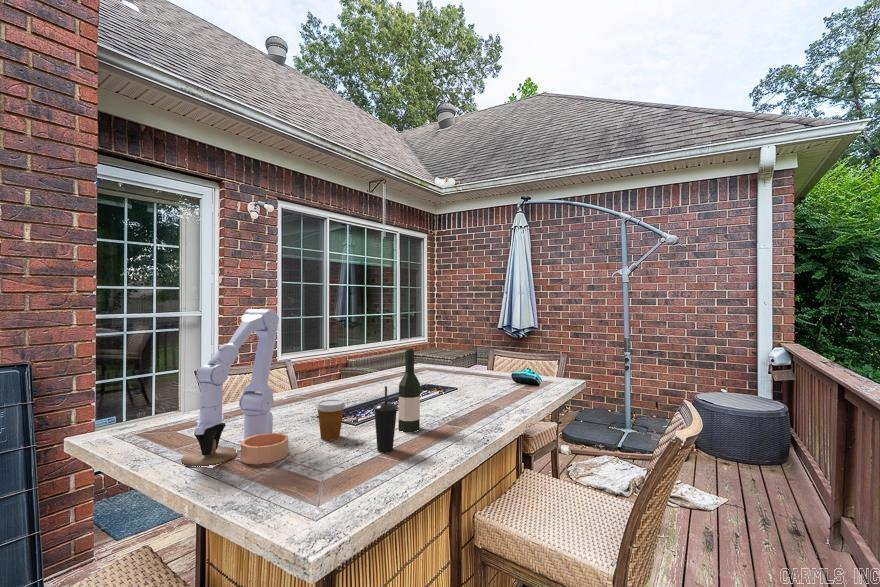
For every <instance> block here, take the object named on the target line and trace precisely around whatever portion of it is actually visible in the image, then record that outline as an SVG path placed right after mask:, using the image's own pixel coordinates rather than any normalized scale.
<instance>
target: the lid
mask: <svg viewBox="0 0 880 587" xmlns="http://www.w3.org/2000/svg"><path fill="white" fill-rule="evenodd" d="M236 450H237V449H236V448H234V447H230V446H218V448H217V449H216V440H214V441H213V446H212V452H211V454H210V455H202V452H201V448H200V449H197V450H194V451H191V452H188V453H186V454H185V455H184V456H182V457H181V460H180V461H181V462H182V464H184V465H186V466H196V467H197V466H198V467H199V466H200V467H201V466H209V465H216V464H220V463H222V464H224V463H226V462H229V461H230V459H231V460H233V459H234V458H236V457H237V455H236ZM223 462H224V463H223ZM196 467H195V468H196Z"/></svg>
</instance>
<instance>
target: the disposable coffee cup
mask: <svg viewBox="0 0 880 587" xmlns="http://www.w3.org/2000/svg"><path fill="white" fill-rule="evenodd" d="M345 406H346V404H345V402H344V400H341V399H325V400H321V401H318V402H317V405H316V409H317V414H318V415H317V416H318V423H319V424H318V425H319V431H320V432H319V433H320V435H319V436H320V439H321V440H322V441H333V440H337V439H339V438H340V437H341V429H342V423H343V417H344V416H343V415H344V414H343V413H344V409H345Z"/></svg>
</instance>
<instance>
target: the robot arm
mask: <svg viewBox="0 0 880 587" xmlns="http://www.w3.org/2000/svg"><path fill="white" fill-rule="evenodd" d="M240 320H241V322H240V325H239V326H238V327H237V329H236V330H235V331H234V333H233V335H232V336H231V338H230V340H229V341H228V343H223V344H222V345H220V346H219V347H218V349H217V351H216V352H215V353H214V354H213V356H212V357H211V359H209V361H208V363H207V364H204V365H202V366H201V367H200V368H199V369H198V371H197V374H195V379H196V382H197V383H198V388H199V390H200V391H199V394H200V396H199V399H200V400H199V419H197V420H196V421H194V424H195V425H197V426H196V427H195V429H194V430H195V431H194V433H193V434H194V435H193V436H194V437H195V438H196V440H197V442H198V445H199V448H200V449H201V452H202V455H210V454H211V452H212V446H213V441H214V440H216V449H217V448H218V447H219V443H220V440H221V437H222V433H223V431H224V429H225V427H226V426H227V425H226V424H227V423H225V422H223V421H225V413H223V394H224V393H223V389H224V383H225V382H226V381H227V379H228V378H229V372H230V369H231V366H232V365H233V363H234V362H235V361H236V359H237V358H238V356H239V355H240V350H239V349H240V347H241V346H242V345H243V344H244V343H245V341H247V339H248V338H249V337H250V336H251V334H252V333H254V334H256V336H257V337H258V342H257V347H256V350H255V351H256V353H255V358H254V362H253V368H252V372H251V378H250V379H251V380H250V383H249V384H247V385H246V386H245V387H244V388H243V390H242V394H241V396H240V397H239V401H238V406H239V409H240V410H241V411H242V414H244V415H243V416H244V417H243V419H244V420H243V437H242V438H240V439H238V440H237V442H238V443H242V440H244V439H246V438H248V437H251V436H255V435H259V434H267V433H273V428H274V427H273V426H274V423H273V421H274V416H273V414H272V412H271V409H272V408H273V406H274V389H273V388H272V387H270V385H269V377H270V372H271V365H272V361H273V354H274V350H275V345H276V338H277V331H278V325H279V320H280V318H279V315H278V313H277V312H276V310H274V309H272V308H271V309H270V308H269V309H256V308H255V309H254V308H249V309H246V310H245V312H244V313H243V315H242V316H241V318H240Z"/></svg>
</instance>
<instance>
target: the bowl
mask: <svg viewBox="0 0 880 587" xmlns="http://www.w3.org/2000/svg"><path fill="white" fill-rule="evenodd" d="M240 450H241V453H240V461H241V462H242V463H244V464H245V465H262V464H263V463H265V464H271V463H274V461H275V462H277V460H278V461H280V460H283V459H284V458H286V457H287V456H288V455H289V436H288V435H287V434H284V433H279V432H278V433H276V432H272V433H267V434H259V435H255V436H251V437H248V438H246V439H244V440H242V442H240Z"/></svg>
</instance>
